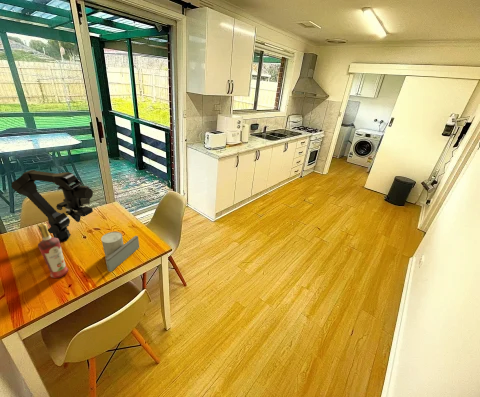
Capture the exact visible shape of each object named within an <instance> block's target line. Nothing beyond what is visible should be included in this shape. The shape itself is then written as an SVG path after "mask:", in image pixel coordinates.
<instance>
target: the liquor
mask: <svg viewBox="0 0 480 397" xmlns="http://www.w3.org/2000/svg"><path fill="white" fill-rule="evenodd" d="M47 225H48V224H46V223H41V224H39V225H38V230H39V232H40V233H41V236H42V239H41V241H39V242H38V244H37V248H38V249H39V252H40V253H41V256H42V257H43V259H44V261H45V264H46V265H47V268H48V271H49V272H50V275H49V276H50V277H51V278H56V279H57V278H63V276H65V275H66V274H67V273H68V272H69V268H68V267H67V265H66V264H67V263H66V262H65V258H64V254H63V250H62V249H63V248H62V245H61V243H60V242H61V241H59V239H58V238H54V236H51V233H49V232H48V229H49V228H48V226H47Z"/></svg>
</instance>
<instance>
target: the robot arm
mask: <svg viewBox="0 0 480 397" xmlns="http://www.w3.org/2000/svg"><path fill="white" fill-rule="evenodd" d="M36 181H39V182H46V183H52V184H55V185H56V186H58V187H57V189H58V190H61V191H62V194H63V197H64V199H63V200H62V202H60V203H57V204H56V207H55V208H56V209H55V208H54V207H53V206H52V205H51V204H50V202H48V201H47V200H46V198H44V196H43V195H41V193H39V191H38V187H37V184H36V183H35V182H36ZM10 187H11V189H12V190H13V191H15V192H16V193H18V194H19V195H21V196H24V197H27V198H28V199H29V200H30V201H31V202H32V203H33V204H34V205H35V206H36V207H37V208H38V209H39V210H40V212H41V213H43V215H45V216H46V218H47V222H48V224H49V228H48V232H49V234H52V237H54V238H58V239H59V242H66V241H68V240H69V238H70V237H71V235H72V234H71V233H70V230H69V229H68V227H69V226H70V223H71V219H70V217H71V218H72V219H73V220H74V221H75V222H77V223H80V222H81V217H82V218H83V217H86V216H87V215H90V214H92V213H93V212H94V210H93V207H90V206H85V205H90V202H91V199H92V197H93V196H94V194H93V193H94V191H93V190H92V188H90V187H89V186H88V185H83V182H81V181H80V180H79V179H78V177H76V175H75V174H74V173H72V172H60V173H59V172H57V173H55V172H47V171H40V170H38V171H37V170H35V169H30V170H27V171H25V172H23V173H22V175H20V176H19V177H18V178H17V179H15V180H14V181H12V182H11V186H10ZM63 208H64V209H65V210H66V211H65V212H61V213H60V212H58V210H59V211H62V210H63ZM66 214H67V215H66Z"/></svg>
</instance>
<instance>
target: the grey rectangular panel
mask: <svg viewBox="0 0 480 397" xmlns="http://www.w3.org/2000/svg"><path fill="white" fill-rule="evenodd" d="M123 244H124V245H123V246H122V247H120V248H119V249H118V250H116V251H115V252H114V253H113V254H111V255H110V256H109V257H107V258H105V259H104V260H105V264H106V268H107V272H110V273H112V272H113V271H114V270H115V269H116V268H117V267H119V265H121V264H122V263H123V262H125V261H126V260H127V258H129V257H130V256H131V255H133V254H134V253H135V252H136V251H137V250H138V249H139V248H140V240H139V236H138V235H134V236H133V237H132V238H131V239H129V240H128V241H127V242H126V243H123Z"/></svg>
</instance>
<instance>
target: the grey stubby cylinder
mask: <svg viewBox="0 0 480 397" xmlns="http://www.w3.org/2000/svg"><path fill="white" fill-rule="evenodd" d="M100 240H101V243H102V247H103V253H104V255H105V259H106V258H107V257H109V256H110V255H111V254H113V253H114V252H115V251H116V250H118V249H119V248H120V247H122V246H123V245H124V244H125V243H124V240H123V234H122V233H121V232H119V231H110V232H107V233H105V234H103V235H102V236H101V239H100Z"/></svg>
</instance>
